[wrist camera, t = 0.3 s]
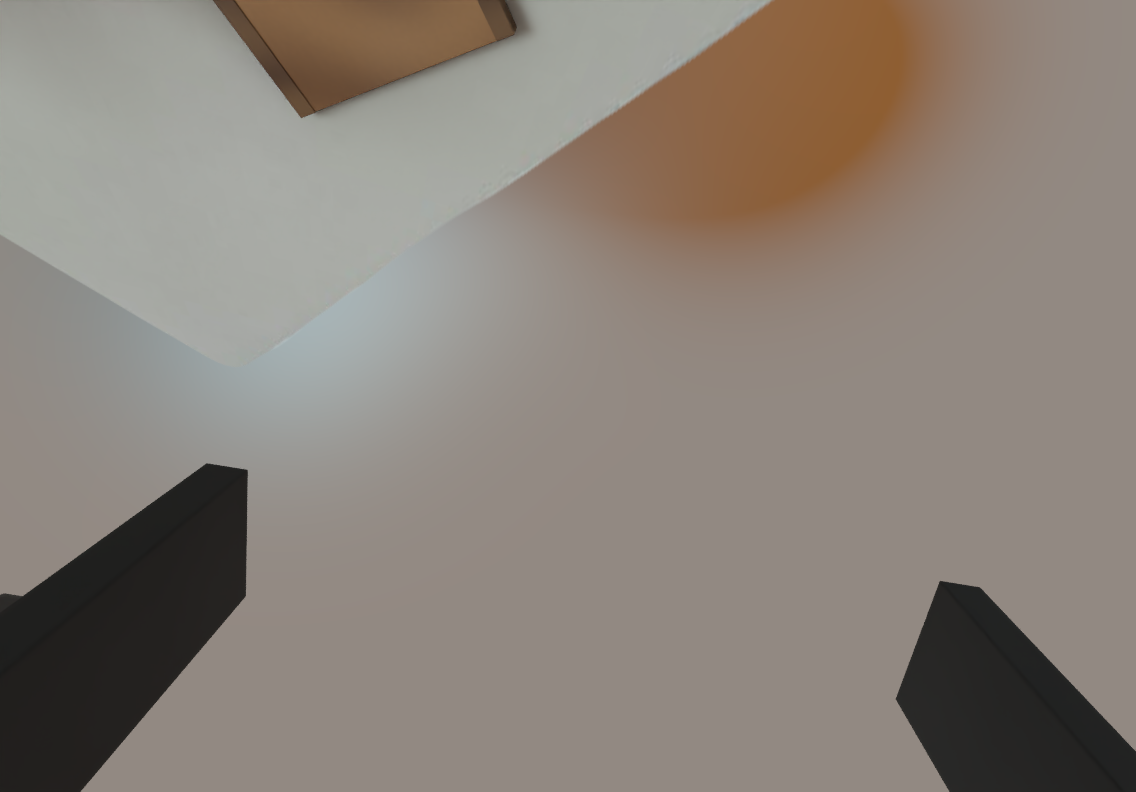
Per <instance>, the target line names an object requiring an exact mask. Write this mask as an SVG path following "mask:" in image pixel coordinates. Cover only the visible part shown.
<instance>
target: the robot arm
mask: <svg viewBox="0 0 1136 792" xmlns="http://www.w3.org/2000/svg"><path fill="white" fill-rule="evenodd" d="M247 478H248V471H247V470H244V469H239V468H232V467H226V466H220V465H213V464H205V465H204V466H203V467H201V468H200V469H198V470H197V471H196V472H194V473H193V474H191V475H190V476H189V477H187V478H186V479H184V480H183V481H182V482H181V483H179V484H178V485H176V486H175V487H173V488H172V489H171V490H169V491H168V492H166V493H165V494H164V495H162V496H161V497H160V498H158V499H157V500H155V501H154V502H153V503H151V504H150V505H148V506H147V507H146V508H144V509H143V510H142V511H140V512H139V513H137V514H136V515H135V516H133V517H132V518H130V519H129V520H128V521H126V522H125V523H124V524H122V525H121V526H119V527H118V528H117V529H115V530H114V531H113V532H111V533H110V534H108V535H107V536H106V537H104V538H103V539H101V540H100V541H99V542H97V543H96V544H94V545H93V546H92V547H90V548H89V549H88V550H86V551H85V552H84V553H82V554H81V555H79V556H78V557H77V558H75V559H74V560H72V561H71V562H70V563H68V564H67V565H65V566H64V567H63V568H61V569H60V570H59V571H57V572H56V573H54V574H53V575H52V576H51V577H49V578H48V579H46V580H45V581H43V582H42V583H40V584H39V585H38V586H36V587H35V588H34V589H32V590H31V591H30V592H28V593H27V594H25V595H24V596H16V595H11V594H1V595H0V792H81V790H82V789H83V788H84V786H86V784H87V783H88V782H89V781H90V780H91V779H92V777H93V776H94V775H95V774H96V773H97V771H98V770H99V769H100V768H101V767H102V765H103V764H104V763H105V762H106V761H107V760H108V758H109V757H110V756H111V755H112V753H114V751H115V750H116V749H117V748H118V747H119V745H120V744H121V743H122V742H123V741H124V740H125V738H126V737H127V736H128V735H129V734H130V732H131V731H132V730H133V729H134V728H135V726H136V725H137V724H138V723H139V722H140V721H141V719H142V718H143V717H144V716H145V715H146V713H147V712H148V711H149V710H150V709H151V707H152V706H153V705H154V704H155V703H156V702H157V700H158V699H159V698H160V697H161V696H162V694H163V693H164V692H165V691H166V690H167V688H168V687H169V686H170V685H171V684H172V683H173V682H174V680H175V679H176V678H177V677H178V676H179V674H180V673H181V672H182V671H183V670H184V669H185V667H186V666H187V665H188V664H189V663H190V661H191V660H192V659H193V658H194V657H195V655H196V654H197V653H198V652H199V651H200V650H201V648H202V647H203V646H204V645H205V644H206V643H207V641H208V640H209V639H210V638H211V637H212V635H213V634H214V633H215V632H216V631H217V630H218V628H219V627H220V626H221V625H222V623H223V622H224V621H225V620H226V619H227V618H228V616H229V615H230V614H231V613H232V612H233V610H234V609H235V608H236V607H237V606H238V605H239V604H240V602H241V601H242V600H243V599H244V598H245V596H246V545H247ZM896 700H897V702H898V704H899V705H900V707H901V709H902V711H903V712H904V714H905V716H906V718H907V719H908V721H909V723H910V725H911V726H912V728H913V730H914V731H915V733H916V735H917V736H918V738H919V740H920V742H921V743H922V745H923V747H924V749H925V750H926V752H927V754H928V755H929V757H930V759H931V761H932V762H933V764H934V766H935V768H936V769H937V771H938V773H939V774H940V776H941V778H942V780H943V781H944V783H945V784H946V786H947V788H948V790H949V792H1136V751H1135V750H1134V749H1133V748H1132V747H1131V746H1130V745H1129V744H1128V743H1127V742H1126V741H1125V740H1124V739H1123V738H1122V736H1121V735H1120V734H1119V733H1118V732H1117V731H1116V730H1115V729H1114V728H1113V727H1112V726H1111V725H1110V724H1109V723H1108V722H1107V721H1106V720H1105V719H1104V718H1103V716H1102V715H1101V714H1099V712H1098V711H1097V710H1096V709H1095V708H1094V707H1093V706H1092V705H1091V704H1090V703H1089V702H1088V701H1087V700H1086V699H1085V698H1084V696H1083V695H1082V694H1081V693H1080V692H1079V691H1078V690H1077V689H1076V688H1075V687H1074V686H1073V685H1072V684H1071V683H1070V682H1069V681H1068V680H1067V679H1066V678H1065V677H1064V675H1063V674H1062V673H1061V672H1060V671H1059V670H1058V669H1057V668H1056V667H1055V666H1054V665H1053V664H1052V663H1051V662H1050V661H1049V660H1048V659H1047V658H1046V656H1044V654H1043V653H1042V652H1041V651H1040V650H1039V649H1038V648H1037V647H1036V646H1035V645H1034V644H1033V643H1032V642H1031V641H1030V640H1029V639H1028V638H1027V637H1026V635H1024V633H1023V632H1022V631H1021V630H1020V629H1019V628H1018V627H1017V626H1016V625H1015V624H1014V623H1013V622H1012V621H1011V620H1010V619H1009V618H1008V616H1007V615H1006V614H1005V613H1004V612H1003V611H1002V610H1001V609H1000V608H999V607H998V606H997V605H996V604H995V603H994V602H993V601H992V600H991V599H990V598H989V596H988V595H987V594H986V593H985V592H984V591H983V590H982V589H981V588H980V587H974V586H968V585H962V584H956V583H949V582H943V581H940V582H939V585H938V588H937V590H936V593H935V596H934V598H933V601H932V604H931V607H930V609H929V612H928V614H927V617H926V620H925V622H924V625H923V628H922V630H921V633H920V636H919V638H918V641H917V644H916V646H915V649H914V652H913V655H912V657H911V660H910V662H909V665H908V668H907V671H906V673H905V676H904V678H903V681H902V684H901V687H900V689H899V692H898V695H897V697H896Z"/></svg>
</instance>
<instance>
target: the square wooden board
mask: <svg viewBox="0 0 1136 792" xmlns="http://www.w3.org/2000/svg"><path fill="white" fill-rule="evenodd" d="M213 1H214V2H215V3H216V5H217V6H218V7H219V9H220V10H221V11H222V13H223V14H224V15H225V17H226V18H227V19H228V21H229V22H230V23H231V25H232V26H233V27H234V29H235V30H236V31H237V33H238V34H239V35H240V37H241V38H242V39H243V41H244V42H245V43H246V45H247V46H248V47H249V49H250V50H251V52H252V53H253V54H254V56H255V57H256V58H257V60H258V61H259V62H260V64H261V65H262V66H263V68H264V69H265V70H266V72H267V73H268V74H269V76H270V77H271V78H272V80H273V81H274V82H275V84H276V85H277V86H278V88H279V89H280V90H281V92H282V93H283V94H284V96H285V97H286V98H287V100H288V101H289V102H290V104H291V105H292V106H293V108H294V109H295V110H296V112H297V113H298V114H299V116H300V117H301V118H303V117H305V116H308V115H310V114H313V113H315V112H316V111H319V110H321V109H324V108H326V107H329V106H331V105H334V104H337V103H339V102H342V101H344V100H347V99H349V98H352V97H354V96H357V95H360V94H362V93H365V92H367V91H370V90H372V89H375V88H377V87H380V86H382V85H385V84H388V83H390V82H393V81H395V80H398V79H400V78H403V77H405V76H408V75H411V74H413V73H416V72H418V71H421V70H423V69H426V68H428V67H431V66H434V65H436V64H439V63H441V62H444V61H446V60H449V59H451V58H454V57H457V56H459V55H462V54H464V53H467V52H469V51H472V50H474V49H477V48H480V47H482V46H485V45H487V44H490V43H492V42H495V41H499V40H502V39H504V38H507V37H509V36H512V35H514V34H515V31H516V28H517V27H516V25H515V22H514V20H513V18H512V16H511V13H510V11H509V9H508V7H507V4H506V2H505V0H213Z"/></svg>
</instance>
